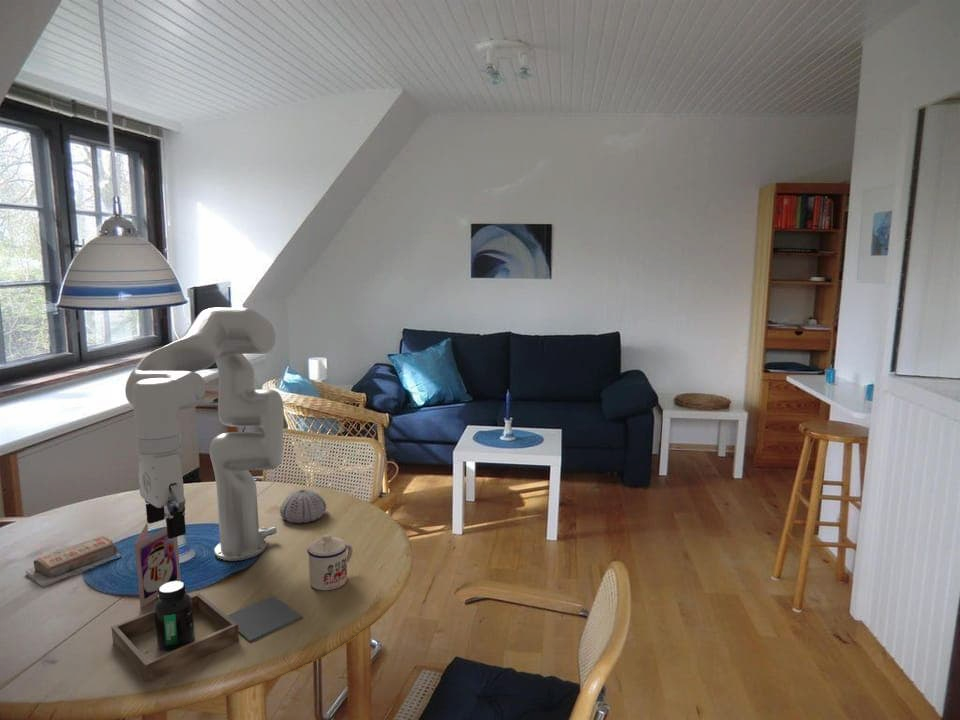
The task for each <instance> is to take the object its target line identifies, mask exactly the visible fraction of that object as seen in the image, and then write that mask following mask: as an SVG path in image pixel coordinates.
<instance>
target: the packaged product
mask: <svg viewBox="0 0 960 720" xmlns="http://www.w3.org/2000/svg"><path fill="white" fill-rule="evenodd" d="M117 551H118V549H117V546H116V545H115V543H114V542H113V540H112V539H109V538H108V537H106V536H104V535H101V536H100V537H99V536H98V537H96V538H93V539H91V540H87V541H84V542H81V543H78V544H76V545H72V546H70V547H66V548H64V549H59V550H58V551H54V552H52V553H47V554H46V555H43V556H40V557H38V558H35V559H34V560H33V567H30V568H27V569H25V575H26V576H28V577H29V578H30V579H32V580H33V581H34V582H35V583H37V584H38V585H39V586H41V587H43V588H44V587H47V586H49V585H52V584H54V583H56V582H59V581H62V580H64V579H68V578H70V577H69V576H71V577H73V576H75V575H74V574H76V575H78V574H77V573H79V574H81V573H80V572H82V571H84V570H86V569H89V568H91V567H93V566H96V565H98V564H100V563H103V562H106V561H108V560H110V559H112V558H114V557H113V556H120V555H121V554H120V553H119V552H117ZM84 572H85V571H84ZM82 573H83V572H82ZM72 575H73V576H72ZM67 577H68V578H67ZM61 579H62V580H61Z"/></svg>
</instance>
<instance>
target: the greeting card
mask: <svg viewBox="0 0 960 720" xmlns="http://www.w3.org/2000/svg"><path fill="white" fill-rule="evenodd" d="M148 527H149V525H148V522H146V523H145V525H144V527H143V528H142V530H141V532H140V534H138V535H139V536H138V538H137V539H136V541H135V542H134V551H135V553H134V554H135V562H136V563H135V564H136V565H135V566H136V575H137V585H138V594H139V596H138V597H139V605H140V606H139V607H140V608H143V607H145V606H146V605H148V604H149V603H151V602H152V601H155V600H157V599H158V589H159V587H160V586H161V585H163V584H165V583H167V582H170V581H182V580H181V570H180V569H181V568H180V556H179V545H178V544H179V543H178V537H175V538H171V539H169V538H168V537H167V527H165V528H162V530H159V531H157V532H155V533H153V534H151V535H149V528H148Z"/></svg>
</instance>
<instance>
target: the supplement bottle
mask: <svg viewBox="0 0 960 720" xmlns="http://www.w3.org/2000/svg"><path fill="white" fill-rule="evenodd" d="M190 596H191V595H189V594H188V593H187V589H186V583H185V582H184V581H182V580H181V581H170V582H167V583H165V584H163V585H161V586H160V587H159V589H158V597H157V601H156V602H155V604H154V607H153V610H154V615H155V626H156V628H155V633H156V634H155V636H156V644H157V647H158V649H160V650H162V651H165V652H171V651H174V650H176V649H178V648H180V647H183V646H185V645H187V644H189V643H192V642H194V638H195V622H194V612H193V608H192V599H191V597H190Z"/></svg>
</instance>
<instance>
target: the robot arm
mask: <svg viewBox="0 0 960 720" xmlns="http://www.w3.org/2000/svg"><path fill="white" fill-rule="evenodd" d="M275 345H276V331H275V328H274V325H273V324H272V322H271V321H270V320H269V319H267V318H266V317H265V316H264V315H262V314H261V313H259V312H258V311H257V310H254V309H251V308H248V307H209V308H207V309H203V310H202V311H200V312H199V313H198V315H197V316H196V317H195V319H194V320H193V321H192V323H191V324H190V326H189V327H188V329H187V330H186V331H185V332H184V334H183V335H182V337H181V338H179V339H178V340H175V341H173V342H171V343H168V344H166V345H164V346H162V347H160V348H157V349H155V350H153V351H151V352H149V353H148V354H146V355H145V356H144V357H143V358H142V359H140V361H138V363H137V364H136V366H135V367H134V368H133V370H132V371H131V372H130V375H128V378H127V381H126V384H125V389H124V390H125V393H124V394H125V397H126V400H127V401H128V403H129V404H130V405H131V406H133V414H134V415H133V416H134V425H135V437H136V438H135V439H136V440H135V441H136V450H137V455H138V481H139V483H138V484H139V488H138V489H139V495H140V497H141V498H142V499H143V500H144V502H145V513H146V523H147V524H148V525H151V524H155V523H158V522H161V521H164V520H165V523H166V524H165V525H166V528H167V537H168V538H169V539H171V538H175V537H177V538H178V537H181V536H184V535H186V533H187V530H186V520H185V519H186V517H185V515H186V506H185V505H186V498H185V489H184V480H183V479H184V478H183V470H182V466H181V465H182V463H181V458H180V453H179V452H180V451H181V450H182V438H181V426H180V425H181V423H180V414H179V413H180V411H183V410H188V409H192V408H194V407H196V406H197V405H199V404H200V403H201V402H202V401H203V399H204V398H205V395H206V389H207V388H206V382H205V379H204V377H202V376H201V375H200V374H199V373H198V372H200V371H203V370H206V369H207V368H210V367H212V366H213V365H214V364H215V365H216V367H217V371H218V399H217V400H218V401H217V413H218V415H217V416H218V420H219V423H221V424H222V425H223V426H227V427H233V428H234V427H237V428H245V427H246V428H247V427H248V428H254V427H255V428H256V427H258V428H262V429H261V430H262V432H261V431H258V432H257V431H255V432H252V431H237V432H236V431H232V432H231V431H230V432H229V431H228V432H224V433H220V434H218V435H216V436H215V437H214V438H213V439H212V440H211V443H210V446H209V456H210V461H211V463H212V464H211V465H212V468H213V472H214V473H213V474H214V477H215V484H216V485H215V486H216V500H217V501H216V502H217V514H218V530H219V543H218V544H216V546H215V547H214V550H213V551H214V556H215V555H216V556H217V557H218V558H217V557H216V556H215V557H216V558H217V559H219V558H220V559H219V560H221V559H223V560H222V561H226V560H227V561H228V562H229V561H230V562H237V561H238V560H239V561H243V560H244V561H245V560H248V559H251V558H254V557H256V556H258V555H260V554H262V553H263V552H264V551H265V549H266V547H267V543H266V540H265V539H266V538H267V537H269V536H272V535H275V534H277V531H278V530H277V528H276V526H272V527H267V526H265V525H264V526H262V527H259V513H258V494H257V493H258V491H257V483H256V480H255V479H254V477H253V475H252V474H251V472H250V471H269V470H275V469H277V468H278V467H279V466H280V465H281V463H282V460H283V453H284V418H285V411H284V407H285V406H284V401H283V397H282V396H281V394H280V393H279V392H278V391H276V390H274V389H270V388H269V389H268V388H266V389H265V388H263V389H258V388H257V389H255V369H254V368H253V366H252V364H251V362H250V361H249V359H248V358H247V357H246V356H245V355H253V354H254V355H265V354H269V353H270V352H271V351H272V350H273V348H274V347H275ZM172 506H174V507H173V508H171V507H172ZM165 512H166V513H165ZM166 515H167V517H166ZM227 561H226V562H227Z"/></svg>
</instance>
